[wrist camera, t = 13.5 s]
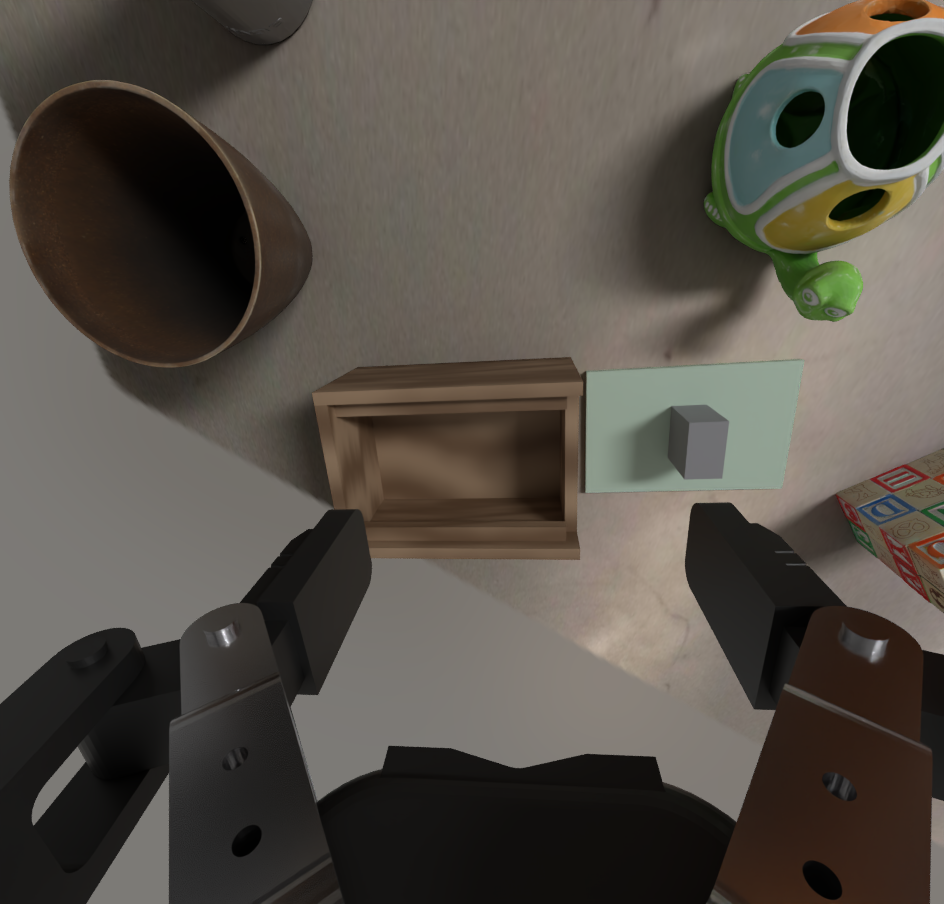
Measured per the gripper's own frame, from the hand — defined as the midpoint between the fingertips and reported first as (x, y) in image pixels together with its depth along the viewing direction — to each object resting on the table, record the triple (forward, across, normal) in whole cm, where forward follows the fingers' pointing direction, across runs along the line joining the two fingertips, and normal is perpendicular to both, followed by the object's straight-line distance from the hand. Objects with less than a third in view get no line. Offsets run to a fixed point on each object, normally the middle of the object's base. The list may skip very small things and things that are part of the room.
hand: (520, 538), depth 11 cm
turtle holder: (+33, -21, -11) cm, 40 cm away
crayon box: (+33, +6, +9) cm, 34 cm away
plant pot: (+34, +21, -9) cm, 41 cm away
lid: (+33, -15, +9) cm, 37 cm away
